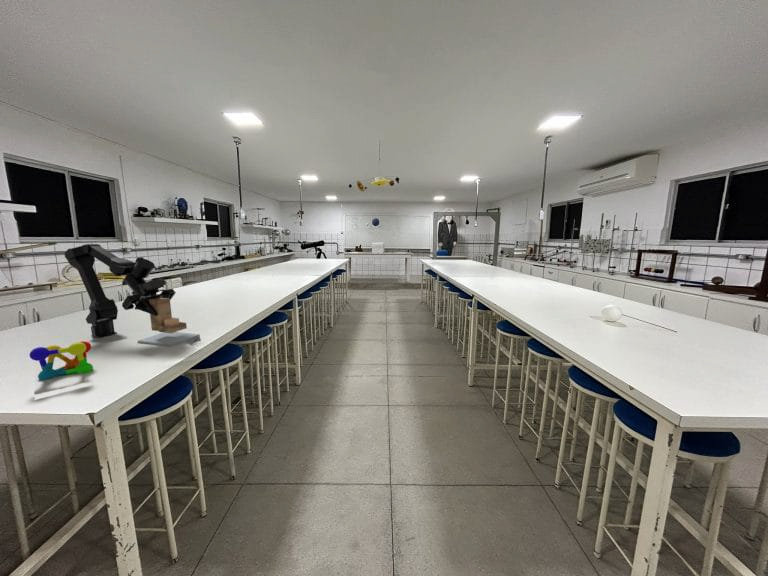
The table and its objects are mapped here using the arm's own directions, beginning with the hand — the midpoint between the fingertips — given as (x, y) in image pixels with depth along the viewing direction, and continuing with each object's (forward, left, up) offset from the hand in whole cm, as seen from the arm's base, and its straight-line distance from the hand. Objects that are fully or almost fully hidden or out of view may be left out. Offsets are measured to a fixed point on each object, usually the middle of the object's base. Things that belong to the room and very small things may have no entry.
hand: (163, 313), depth 123 cm
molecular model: (+33, +3, -12) cm, 35 cm away
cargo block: (0, +4, -5) cm, 7 cm away
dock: (0, +2, -12) cm, 12 cm away
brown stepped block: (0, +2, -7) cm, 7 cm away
